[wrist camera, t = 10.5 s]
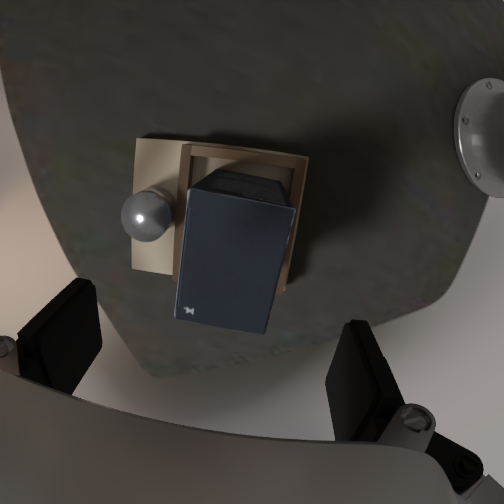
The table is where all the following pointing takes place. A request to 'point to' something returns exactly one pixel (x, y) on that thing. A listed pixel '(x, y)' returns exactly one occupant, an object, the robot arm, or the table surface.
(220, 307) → the box
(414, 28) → the table surface
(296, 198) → the plate
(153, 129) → the table surface
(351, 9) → the table surface
